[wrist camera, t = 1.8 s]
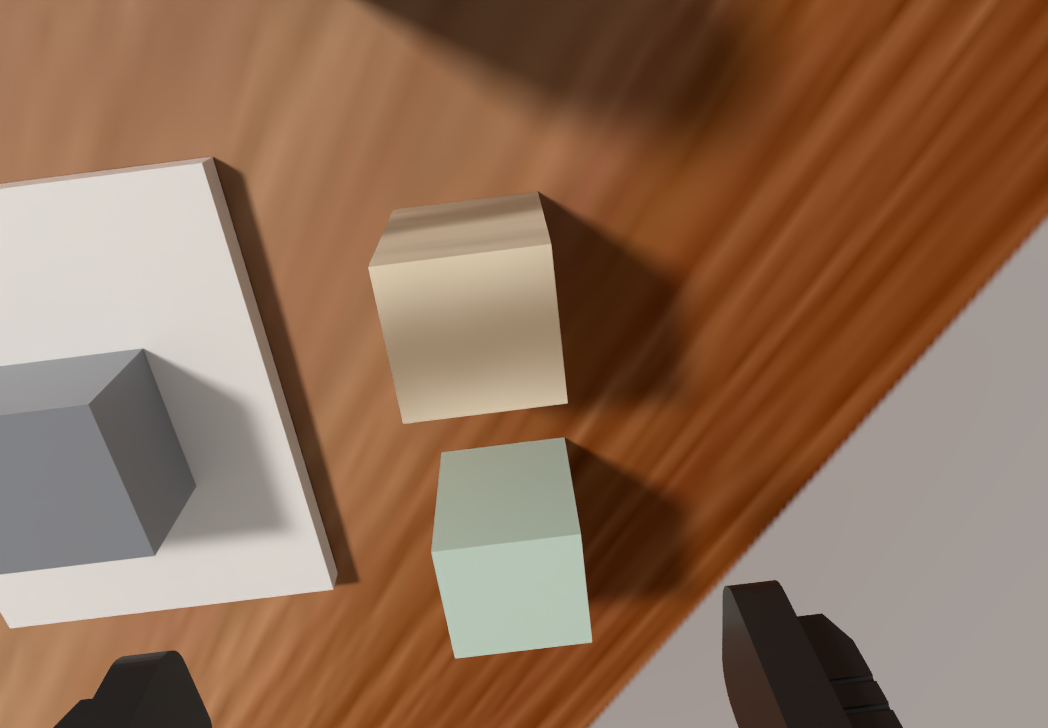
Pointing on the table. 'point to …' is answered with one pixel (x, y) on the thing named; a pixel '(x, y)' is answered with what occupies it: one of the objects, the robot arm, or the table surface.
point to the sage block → (510, 549)
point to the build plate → (204, 370)
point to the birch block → (470, 308)
